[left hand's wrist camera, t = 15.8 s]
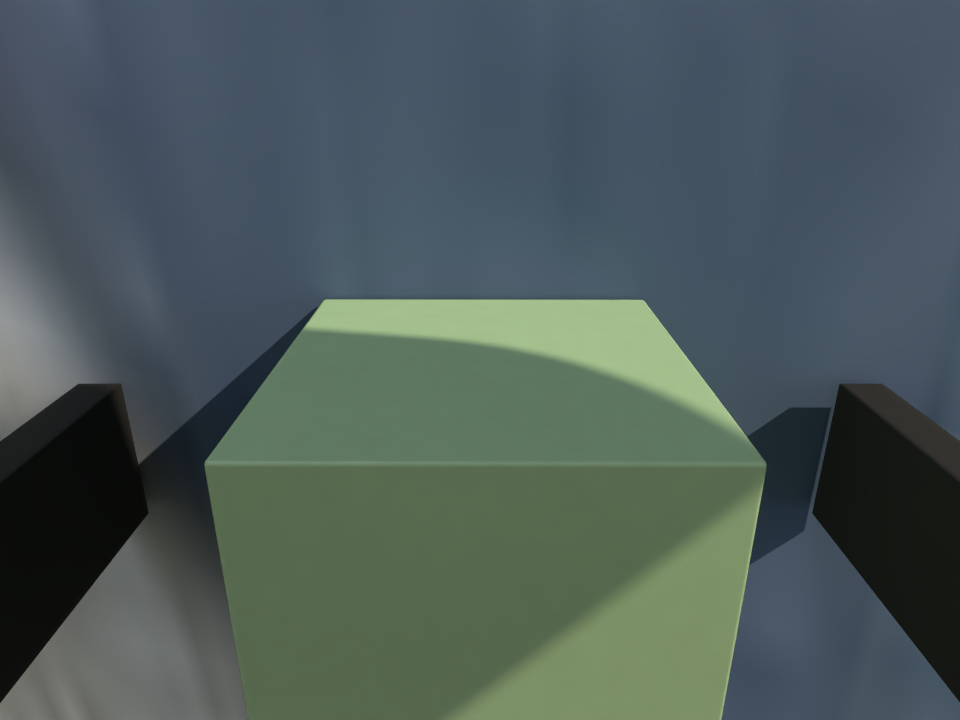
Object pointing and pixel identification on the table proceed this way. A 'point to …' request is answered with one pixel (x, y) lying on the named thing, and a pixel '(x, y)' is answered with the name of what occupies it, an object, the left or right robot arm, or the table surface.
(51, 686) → the table surface
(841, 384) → the left robot arm
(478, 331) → the green block
